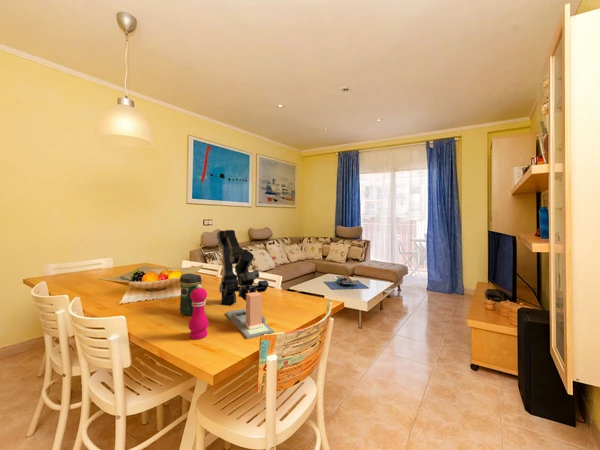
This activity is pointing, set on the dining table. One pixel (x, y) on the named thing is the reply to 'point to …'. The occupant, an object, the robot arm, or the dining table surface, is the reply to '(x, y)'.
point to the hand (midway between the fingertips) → (251, 305)
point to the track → (238, 319)
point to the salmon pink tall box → (253, 310)
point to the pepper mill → (198, 314)
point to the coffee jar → (188, 292)
